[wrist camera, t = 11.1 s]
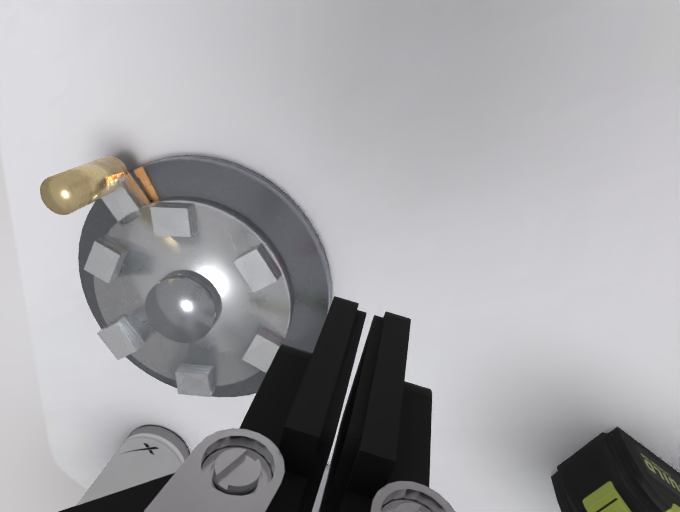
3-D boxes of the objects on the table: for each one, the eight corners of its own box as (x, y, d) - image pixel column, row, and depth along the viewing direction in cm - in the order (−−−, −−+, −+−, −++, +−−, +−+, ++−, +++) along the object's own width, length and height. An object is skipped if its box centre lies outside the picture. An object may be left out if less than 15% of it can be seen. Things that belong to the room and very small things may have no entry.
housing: (90, 127, 39) (77, 131, 38) (355, 191, 38) (352, 197, 37) (88, 352, 47) (78, 362, 46) (307, 411, 46) (303, 423, 45)
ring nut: (331, 332, 40) (314, 380, 35) (180, 398, 45) (144, 451, 40) (183, 103, 36) (136, 116, 30) (32, 205, 40) (-33, 232, 35)
